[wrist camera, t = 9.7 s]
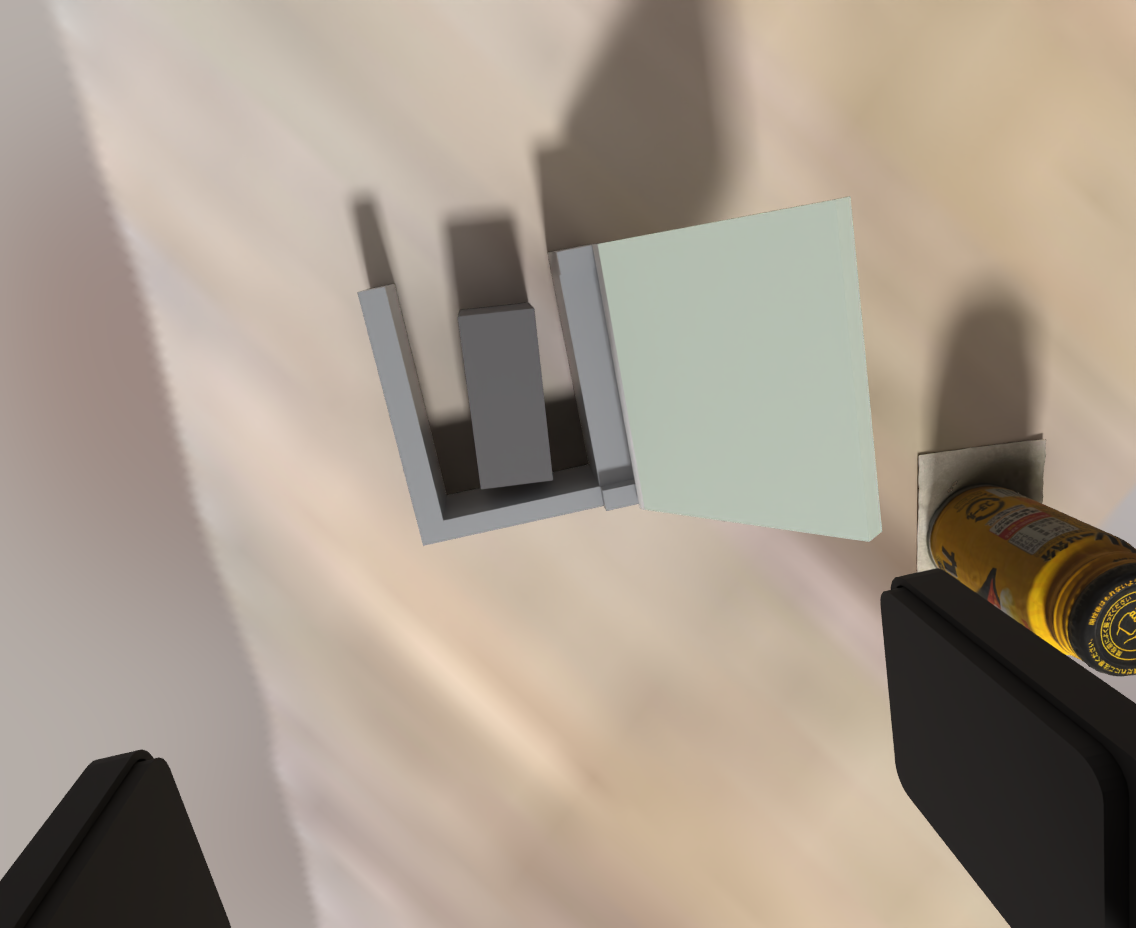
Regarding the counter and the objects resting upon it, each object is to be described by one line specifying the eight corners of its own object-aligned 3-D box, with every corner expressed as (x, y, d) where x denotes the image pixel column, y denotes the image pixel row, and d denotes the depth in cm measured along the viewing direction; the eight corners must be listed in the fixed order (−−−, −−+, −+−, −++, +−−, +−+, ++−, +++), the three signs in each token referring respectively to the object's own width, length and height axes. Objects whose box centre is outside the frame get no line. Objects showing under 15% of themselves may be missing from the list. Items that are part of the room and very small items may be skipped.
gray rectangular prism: (460, 309, 40) (457, 316, 35) (528, 302, 40) (534, 308, 36) (480, 464, 42) (480, 489, 38) (545, 456, 42) (553, 480, 38)
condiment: (916, 595, 47) (1059, 707, 35) (916, 454, 44) (1070, 524, 33) (1035, 577, 47) (1215, 682, 36) (1042, 437, 45) (1236, 500, 33)
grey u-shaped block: (369, 288, 39) (354, 293, 34) (587, 244, 40) (602, 242, 35) (428, 517, 42) (421, 551, 37) (628, 474, 43) (647, 501, 38)
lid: (835, 199, 26) (850, 196, 27) (587, 246, 34) (603, 242, 35) (869, 541, 29) (881, 531, 30) (635, 508, 37) (648, 500, 38)
